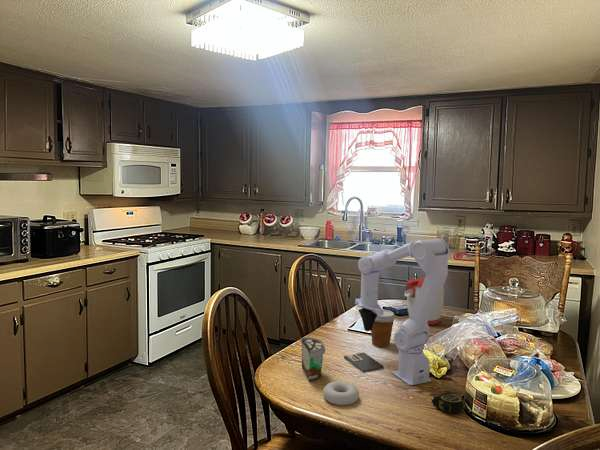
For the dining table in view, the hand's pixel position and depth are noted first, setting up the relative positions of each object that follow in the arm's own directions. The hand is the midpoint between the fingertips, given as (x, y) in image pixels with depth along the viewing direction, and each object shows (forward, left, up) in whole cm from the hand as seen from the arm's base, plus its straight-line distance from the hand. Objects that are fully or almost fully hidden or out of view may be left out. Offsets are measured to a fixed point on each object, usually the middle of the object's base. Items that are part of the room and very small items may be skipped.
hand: (368, 330), depth 154 cm
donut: (-22, +22, -10) cm, 33 cm away
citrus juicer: (+24, -43, -10) cm, 50 cm away
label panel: (-4, +4, -9) cm, 11 cm away
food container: (-6, +23, -10) cm, 25 cm away
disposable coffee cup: (+8, -11, -10) cm, 17 cm away
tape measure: (-38, -1, -10) cm, 39 cm away
